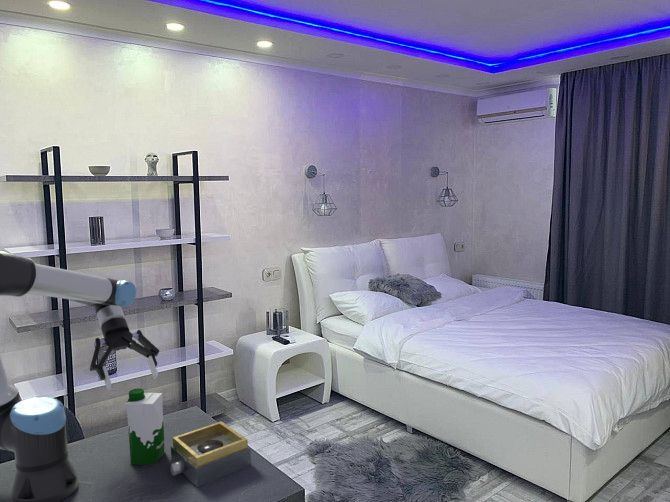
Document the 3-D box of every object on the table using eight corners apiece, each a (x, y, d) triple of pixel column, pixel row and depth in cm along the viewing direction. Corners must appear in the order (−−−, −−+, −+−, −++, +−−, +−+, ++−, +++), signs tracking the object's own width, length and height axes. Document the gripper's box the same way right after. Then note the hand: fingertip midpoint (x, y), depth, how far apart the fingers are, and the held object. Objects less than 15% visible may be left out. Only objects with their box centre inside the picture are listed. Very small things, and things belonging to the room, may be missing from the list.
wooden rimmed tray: (185, 491, 132) (184, 463, 131) (160, 466, 144) (159, 441, 143) (251, 465, 144) (250, 439, 143) (223, 444, 156) (221, 420, 155)
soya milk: (138, 450, 153) (134, 385, 151) (168, 450, 153) (165, 385, 150) (125, 466, 144) (121, 397, 142) (158, 466, 144) (154, 397, 142)
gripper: (149, 322, 174) (170, 377, 164) (68, 337, 158) (86, 399, 148) (154, 309, 169) (177, 365, 160) (71, 323, 153) (91, 387, 144)
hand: (133, 382), depth 154 cm, fingers open, 13 cm apart
